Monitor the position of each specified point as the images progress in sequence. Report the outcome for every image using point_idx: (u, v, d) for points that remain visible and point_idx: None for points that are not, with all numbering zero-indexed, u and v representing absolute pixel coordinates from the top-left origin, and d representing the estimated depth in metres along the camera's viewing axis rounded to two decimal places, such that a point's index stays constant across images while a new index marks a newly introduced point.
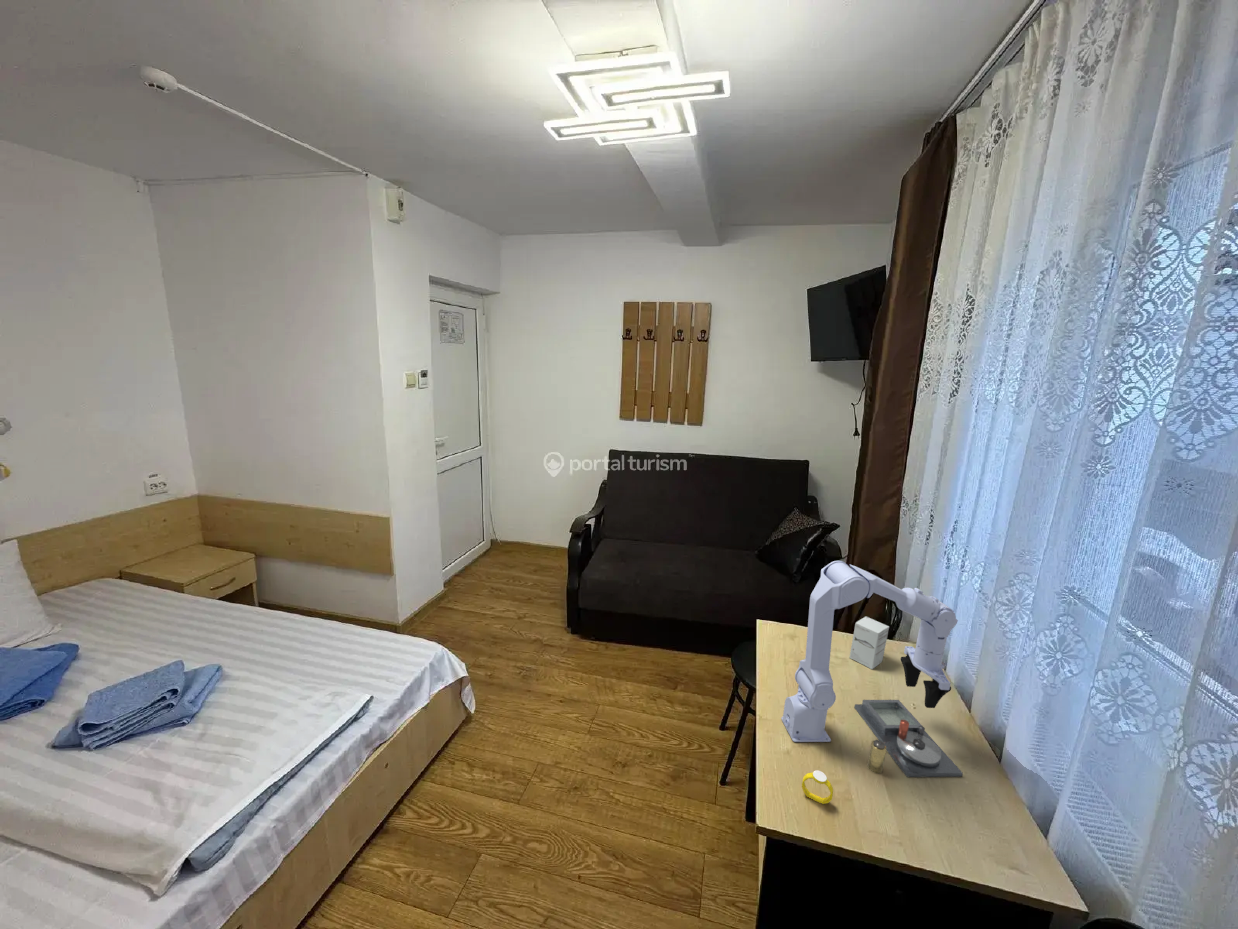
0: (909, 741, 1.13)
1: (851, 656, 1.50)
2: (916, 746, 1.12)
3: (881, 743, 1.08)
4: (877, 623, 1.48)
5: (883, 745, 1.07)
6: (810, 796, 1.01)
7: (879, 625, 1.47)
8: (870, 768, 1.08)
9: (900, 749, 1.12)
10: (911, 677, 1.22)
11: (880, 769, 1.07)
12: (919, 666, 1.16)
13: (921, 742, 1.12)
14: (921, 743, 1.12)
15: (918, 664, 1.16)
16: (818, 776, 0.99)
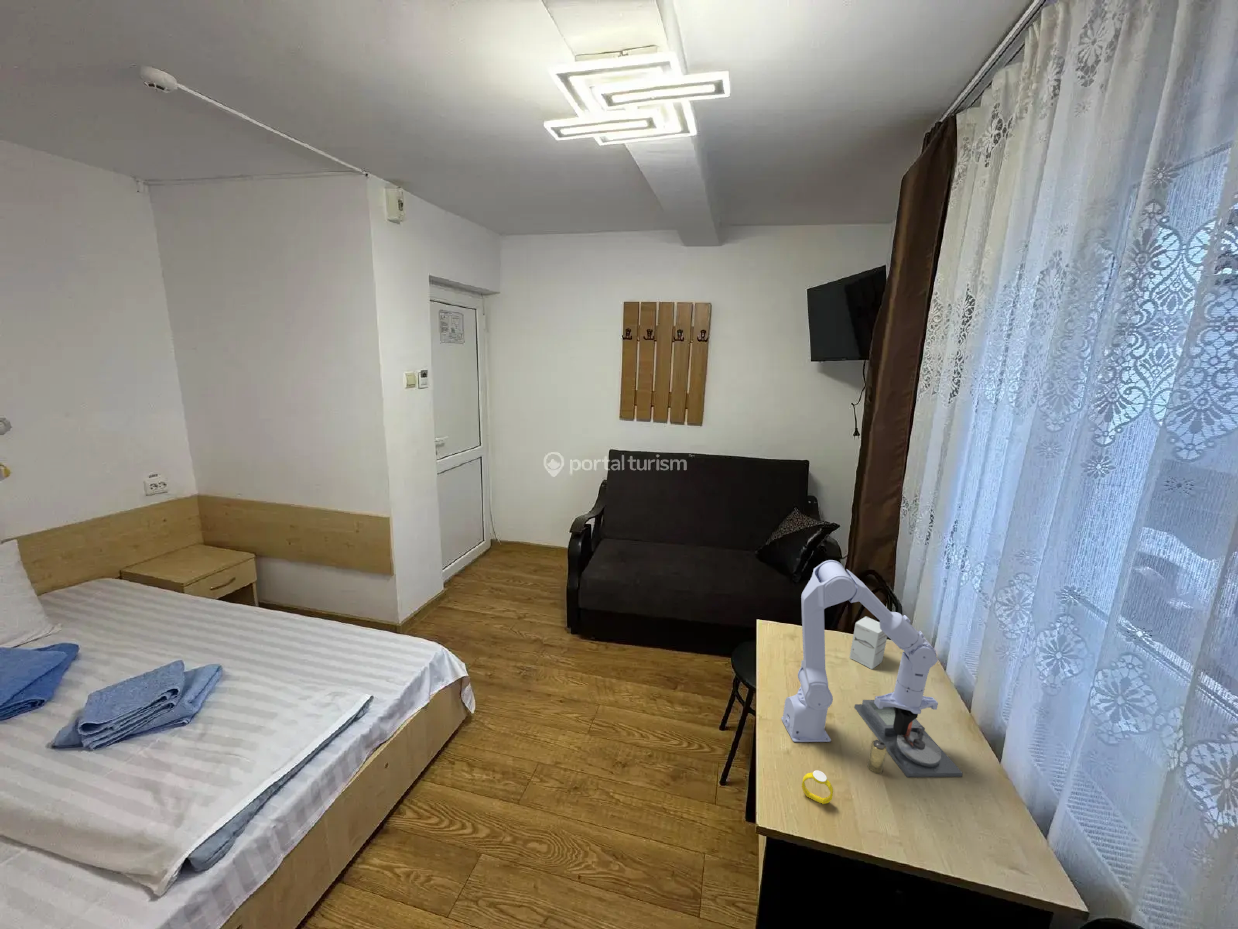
0: (910, 739, 1.14)
1: (851, 656, 1.50)
2: (914, 744, 1.12)
3: (881, 743, 1.08)
4: (877, 623, 1.48)
5: (883, 745, 1.07)
6: (810, 796, 1.01)
7: (879, 625, 1.47)
8: (870, 768, 1.08)
9: (896, 743, 1.14)
10: (897, 721, 1.15)
11: (880, 769, 1.07)
12: None
13: (922, 743, 1.12)
14: (921, 744, 1.12)
15: None
16: (818, 776, 0.99)
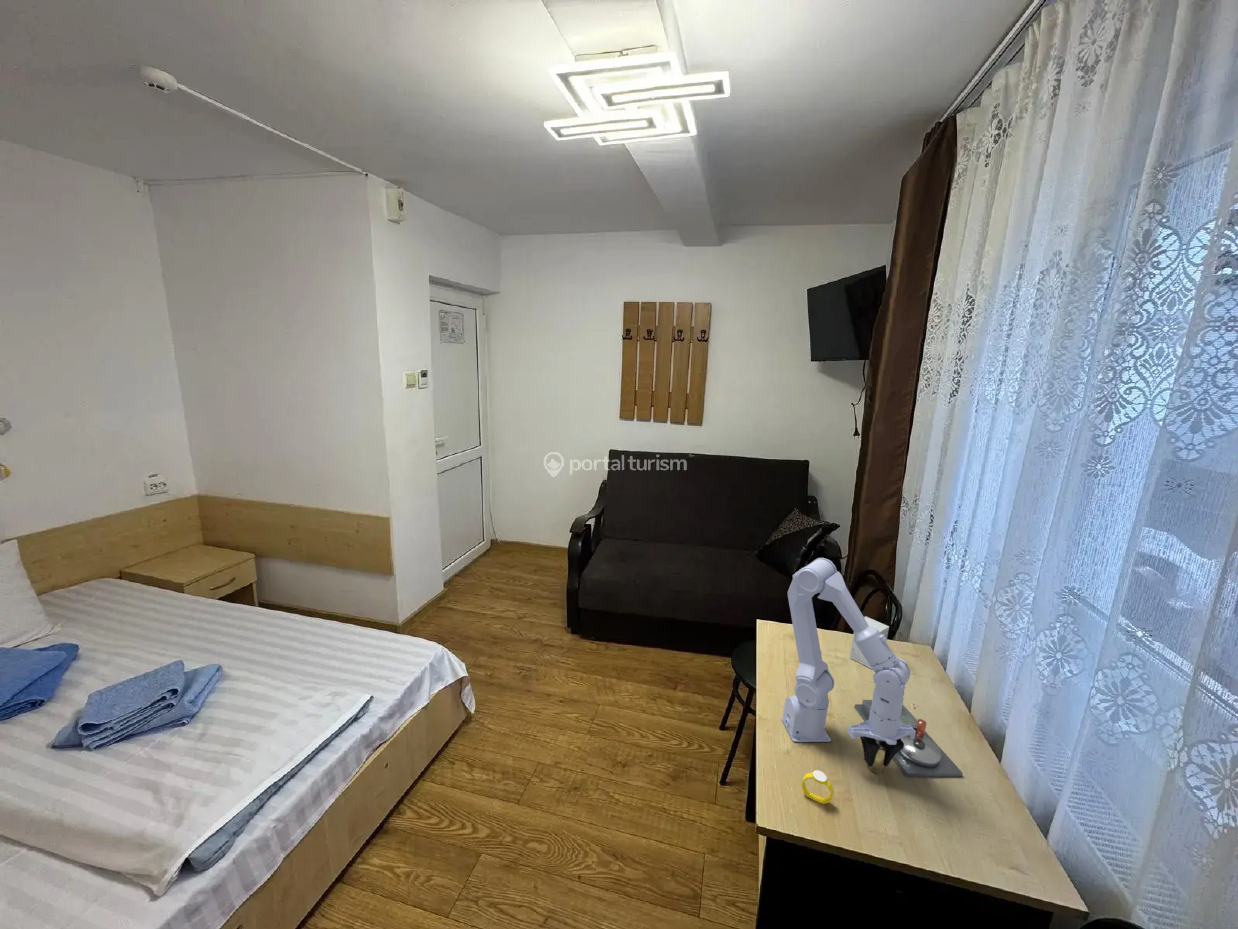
0: (916, 738, 1.14)
1: (851, 656, 1.50)
2: (913, 741, 1.13)
3: (881, 743, 1.08)
4: (877, 623, 1.48)
5: (883, 745, 1.07)
6: (810, 796, 1.01)
7: (879, 625, 1.47)
8: (870, 768, 1.08)
9: None
10: None
11: (880, 769, 1.07)
12: None
13: (921, 744, 1.12)
14: (919, 744, 1.12)
15: None
16: (818, 776, 0.99)
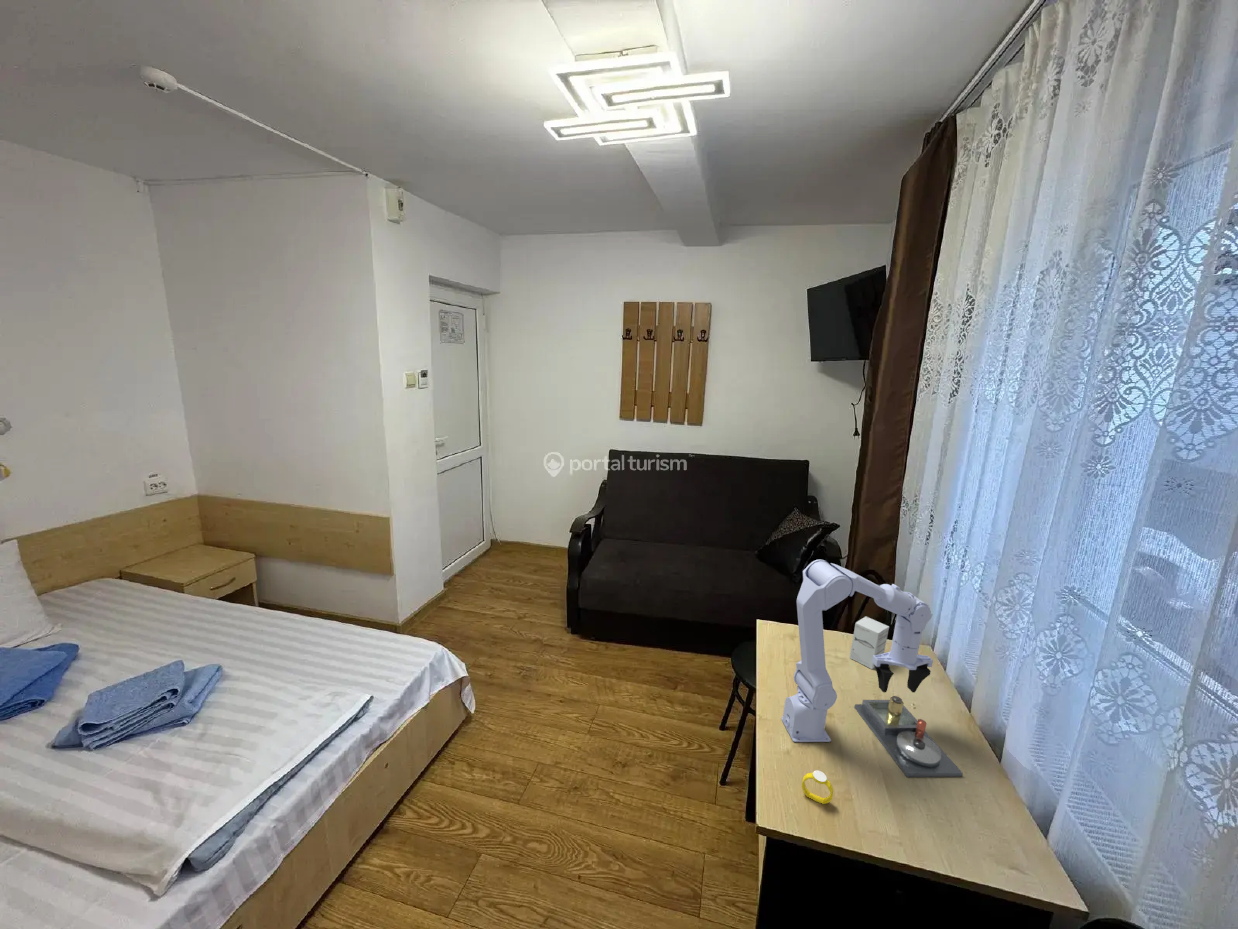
0: (916, 738, 1.14)
1: (851, 656, 1.50)
2: (913, 741, 1.13)
3: (899, 699, 1.21)
4: (877, 623, 1.48)
5: (900, 700, 1.20)
6: (810, 796, 1.01)
7: (879, 625, 1.47)
8: (887, 720, 1.22)
9: None
10: (911, 680, 1.21)
11: (896, 721, 1.21)
12: None
13: (921, 744, 1.12)
14: (919, 744, 1.12)
15: None
16: (818, 776, 0.99)
